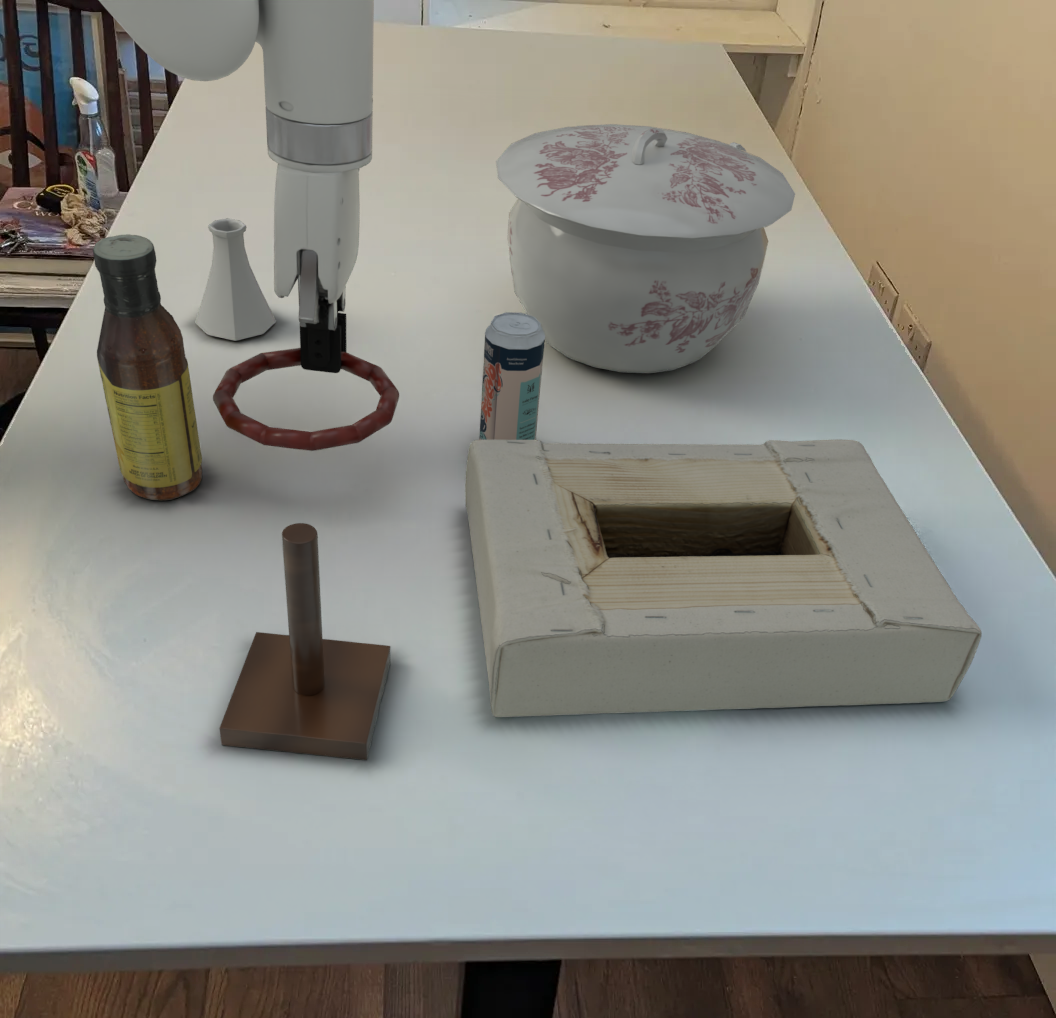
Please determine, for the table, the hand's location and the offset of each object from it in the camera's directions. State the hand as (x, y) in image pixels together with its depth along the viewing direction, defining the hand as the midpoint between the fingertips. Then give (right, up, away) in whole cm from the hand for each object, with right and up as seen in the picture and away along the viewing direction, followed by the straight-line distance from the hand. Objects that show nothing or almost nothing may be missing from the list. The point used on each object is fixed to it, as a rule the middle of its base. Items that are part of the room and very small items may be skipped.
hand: (323, 362), depth 97 cm
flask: (-12, +7, +18) cm, 23 cm away
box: (+28, -20, -10) cm, 36 cm away
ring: (0, -4, -5) cm, 6 cm away
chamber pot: (+26, +6, +22) cm, 35 cm away
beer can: (+15, -7, +4) cm, 17 cm away
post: (+3, -26, -21) cm, 33 cm away
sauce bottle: (-12, -10, -3) cm, 16 cm away
